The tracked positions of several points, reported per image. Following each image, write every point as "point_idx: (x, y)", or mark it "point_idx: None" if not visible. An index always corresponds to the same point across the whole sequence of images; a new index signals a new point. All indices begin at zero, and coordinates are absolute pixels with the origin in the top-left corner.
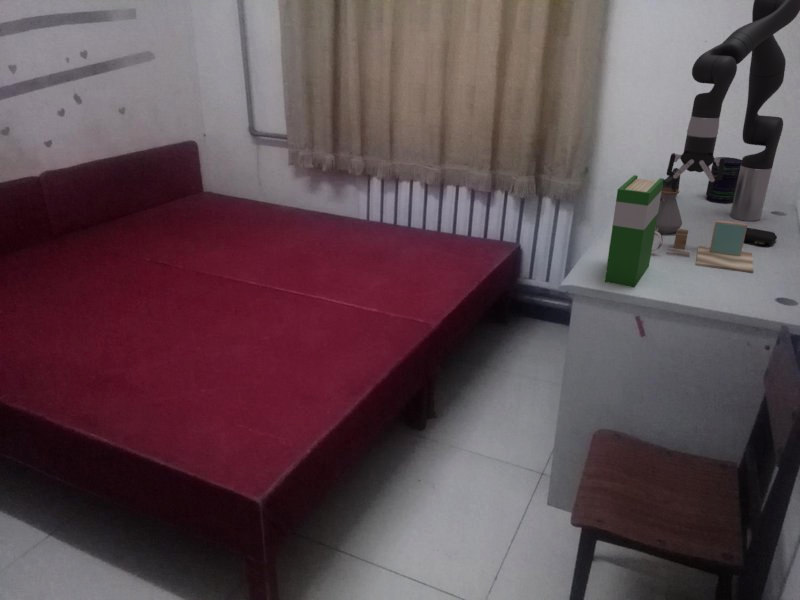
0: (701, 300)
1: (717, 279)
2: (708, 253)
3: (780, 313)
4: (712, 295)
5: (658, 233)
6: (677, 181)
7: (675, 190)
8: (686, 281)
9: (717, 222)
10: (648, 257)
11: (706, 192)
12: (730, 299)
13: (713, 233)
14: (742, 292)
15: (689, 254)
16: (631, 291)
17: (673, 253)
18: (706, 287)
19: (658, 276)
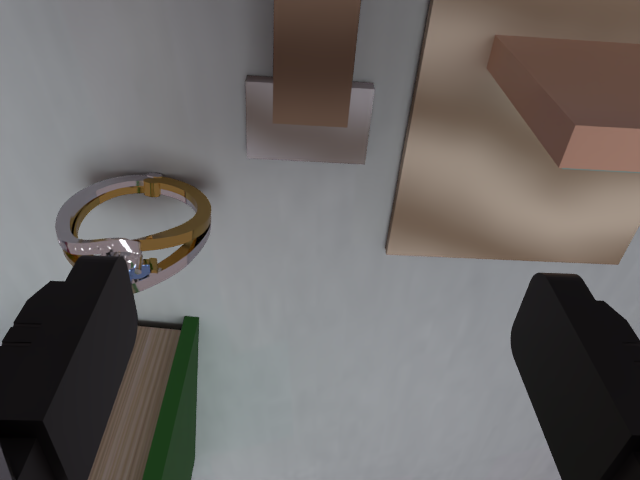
0: (370, 470)
1: (445, 350)
2: (475, 95)
3: (551, 476)
4: (404, 444)
5: (171, 273)
6: (91, 466)
7: (128, 344)
8: (337, 390)
9: (572, 166)
10: (188, 393)
11: (522, 352)
12: (448, 450)
13: (527, 120)
14: (498, 409)
15: (364, 161)
16: (193, 475)
17: (283, 158)
18: (395, 409)
19: (247, 382)
